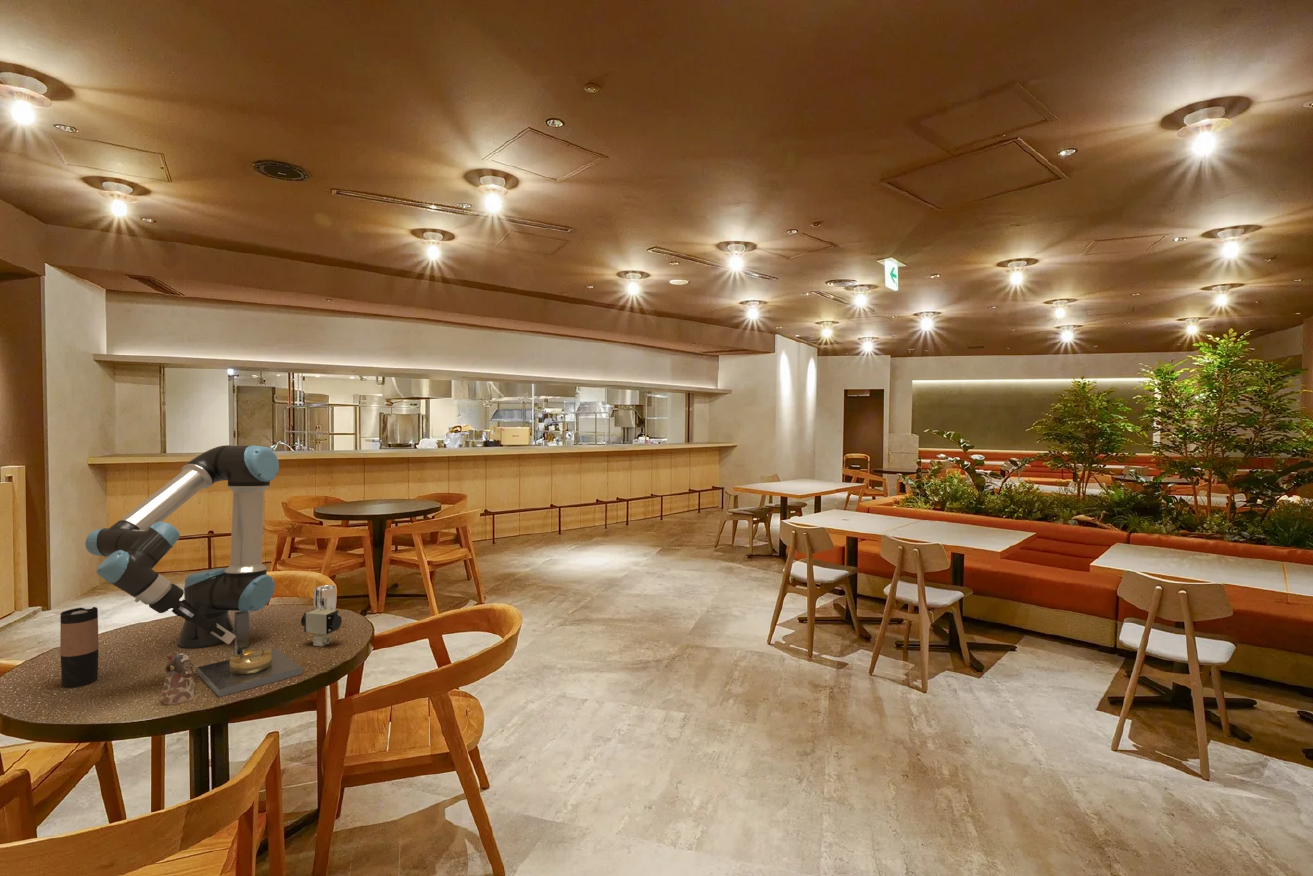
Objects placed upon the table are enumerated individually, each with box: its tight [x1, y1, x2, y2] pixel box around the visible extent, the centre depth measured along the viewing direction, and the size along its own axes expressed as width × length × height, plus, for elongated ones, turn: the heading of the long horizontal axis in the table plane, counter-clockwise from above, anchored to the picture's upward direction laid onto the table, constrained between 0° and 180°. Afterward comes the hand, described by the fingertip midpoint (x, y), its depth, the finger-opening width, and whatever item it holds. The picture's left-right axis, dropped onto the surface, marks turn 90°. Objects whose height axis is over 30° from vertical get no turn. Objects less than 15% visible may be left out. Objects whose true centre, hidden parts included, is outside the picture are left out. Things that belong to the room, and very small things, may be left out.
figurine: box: [161, 652, 197, 706], centre depth 158 cm, size 7×7×12 cm
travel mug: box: [59, 606, 100, 689], centre depth 168 cm, size 8×8×20 cm
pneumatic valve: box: [300, 608, 343, 647], centre depth 198 cm, size 6×12×12 cm, turn 78°
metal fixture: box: [229, 610, 272, 674], centre depth 176 cm, size 18×10×13 cm, turn 46°
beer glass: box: [313, 584, 337, 610], centre depth 212 cm, size 7×7×15 cm
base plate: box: [197, 648, 304, 698], centre depth 174 cm, size 22×20×2 cm
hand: (231, 639), depth 178 cm, fingers closed
